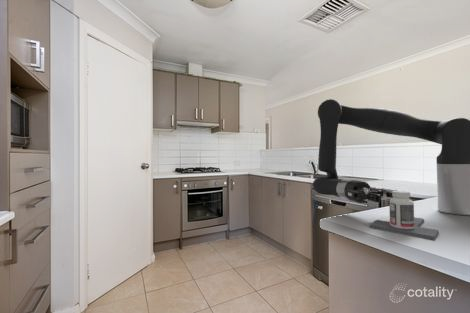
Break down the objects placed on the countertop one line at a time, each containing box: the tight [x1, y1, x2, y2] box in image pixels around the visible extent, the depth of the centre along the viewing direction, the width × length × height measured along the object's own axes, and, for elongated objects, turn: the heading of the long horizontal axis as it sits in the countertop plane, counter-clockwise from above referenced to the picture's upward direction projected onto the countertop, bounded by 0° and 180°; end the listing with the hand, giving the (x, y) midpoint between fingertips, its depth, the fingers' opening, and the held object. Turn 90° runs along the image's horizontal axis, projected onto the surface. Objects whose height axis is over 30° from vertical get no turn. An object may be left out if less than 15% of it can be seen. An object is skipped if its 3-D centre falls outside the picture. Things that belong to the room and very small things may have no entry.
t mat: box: [368, 216, 440, 241], centre depth 64 cm, size 18×14×1 cm
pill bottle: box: [388, 190, 415, 230], centre depth 61 cm, size 5×5×10 cm
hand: (393, 198), depth 63 cm, fingers open, 8 cm apart
